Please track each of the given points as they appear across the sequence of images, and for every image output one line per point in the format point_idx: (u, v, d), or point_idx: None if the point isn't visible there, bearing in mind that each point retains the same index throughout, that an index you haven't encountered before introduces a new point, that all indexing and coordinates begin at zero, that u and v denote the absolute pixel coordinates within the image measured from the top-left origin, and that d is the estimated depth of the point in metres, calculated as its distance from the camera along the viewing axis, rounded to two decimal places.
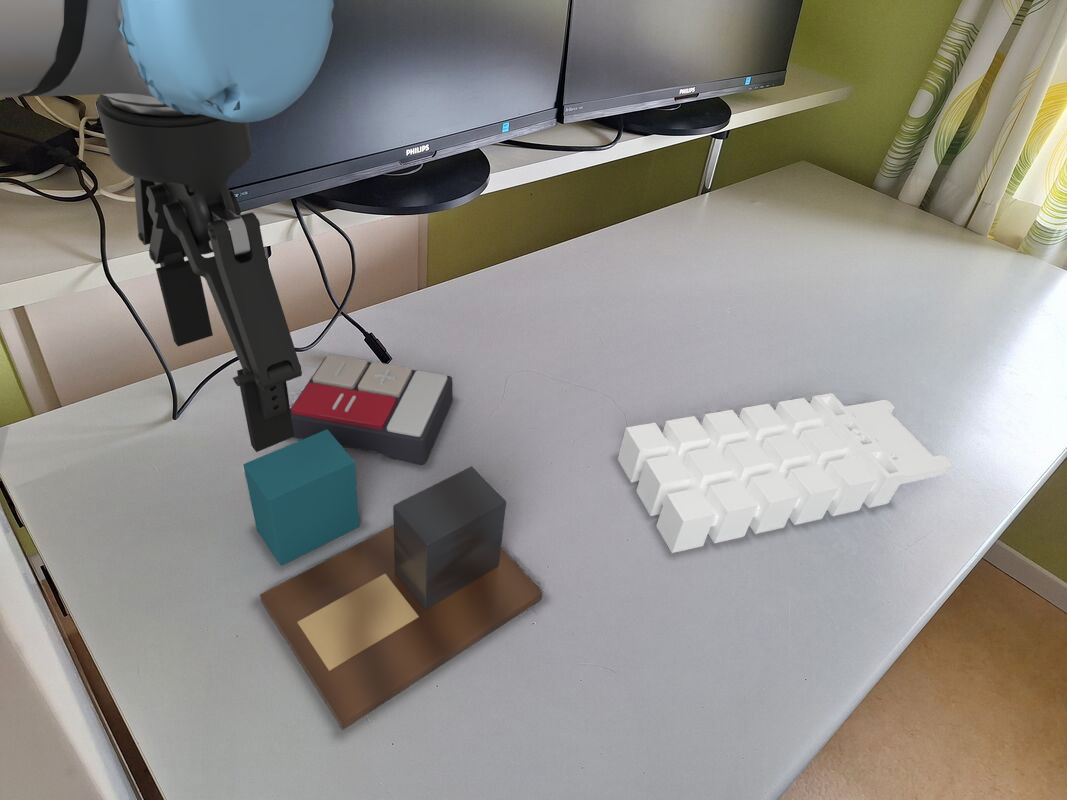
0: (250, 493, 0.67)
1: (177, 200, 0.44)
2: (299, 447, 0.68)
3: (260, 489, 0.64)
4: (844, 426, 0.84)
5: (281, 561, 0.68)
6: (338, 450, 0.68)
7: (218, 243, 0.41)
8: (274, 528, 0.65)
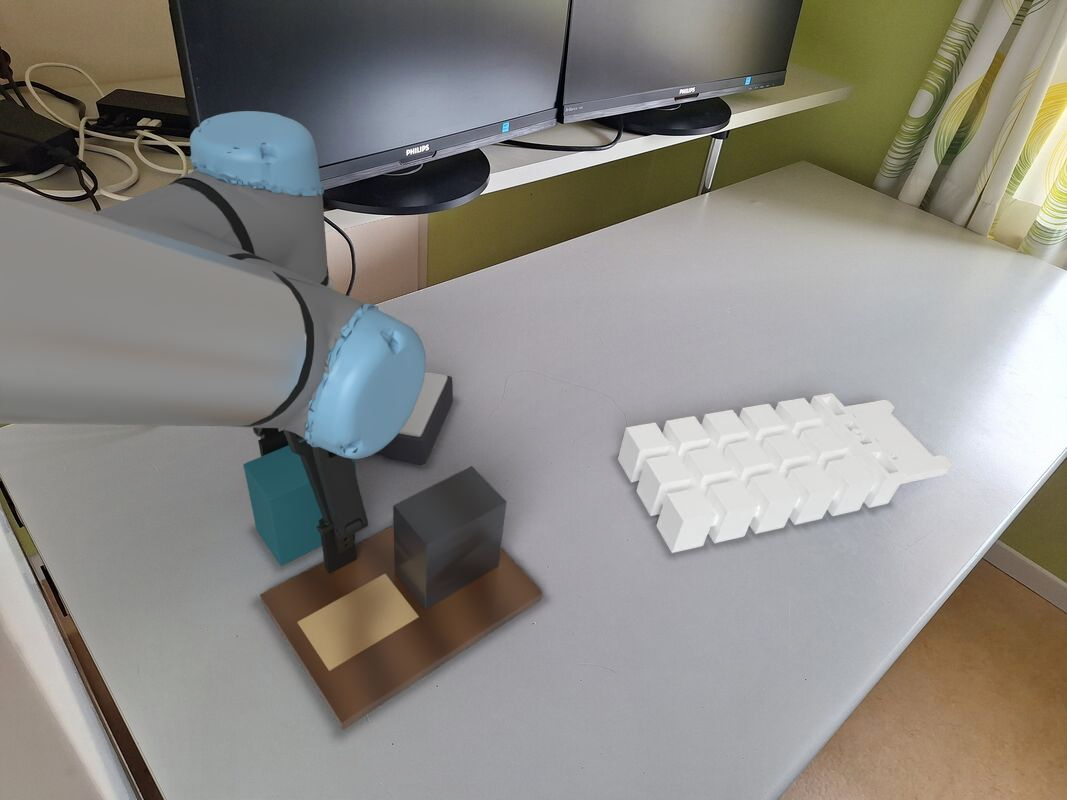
0: (250, 493, 0.67)
1: None
2: None
3: (260, 489, 0.64)
4: (844, 426, 0.84)
5: (281, 561, 0.68)
6: None
7: (319, 448, 0.56)
8: (274, 528, 0.65)
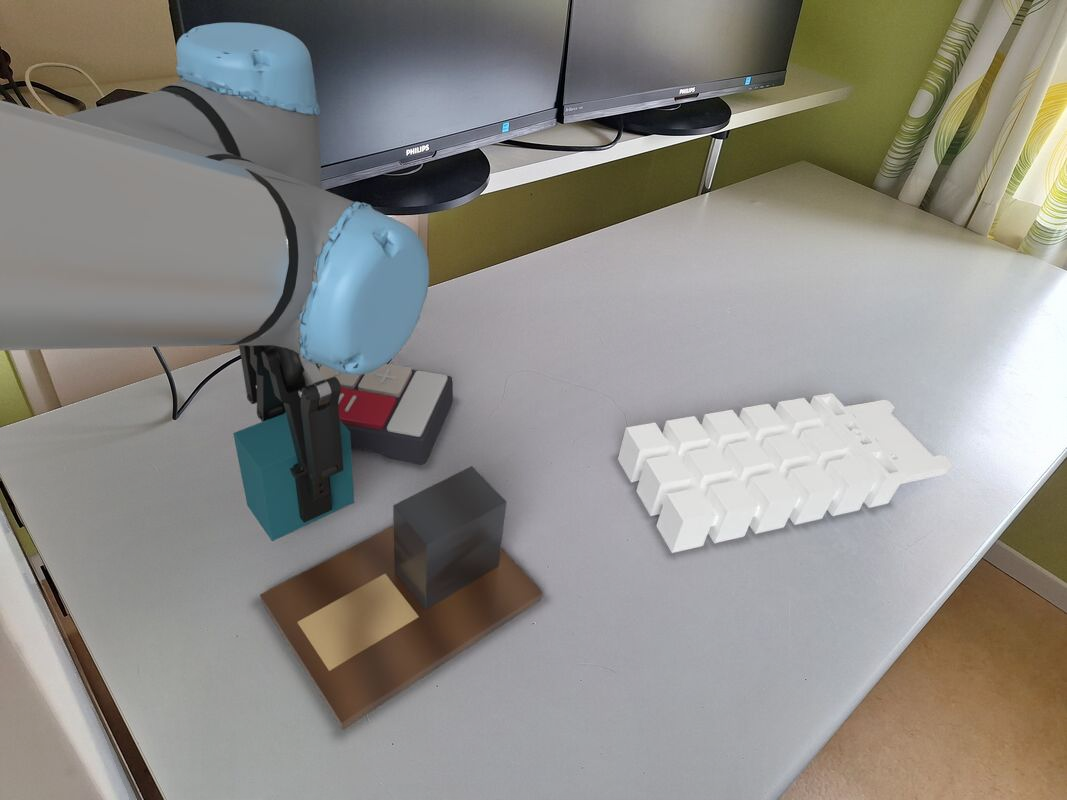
0: (240, 464, 0.64)
1: (273, 347, 0.56)
2: None
3: (251, 458, 0.61)
4: (844, 426, 0.84)
5: (272, 536, 0.65)
6: None
7: (309, 404, 0.54)
8: (265, 500, 0.62)
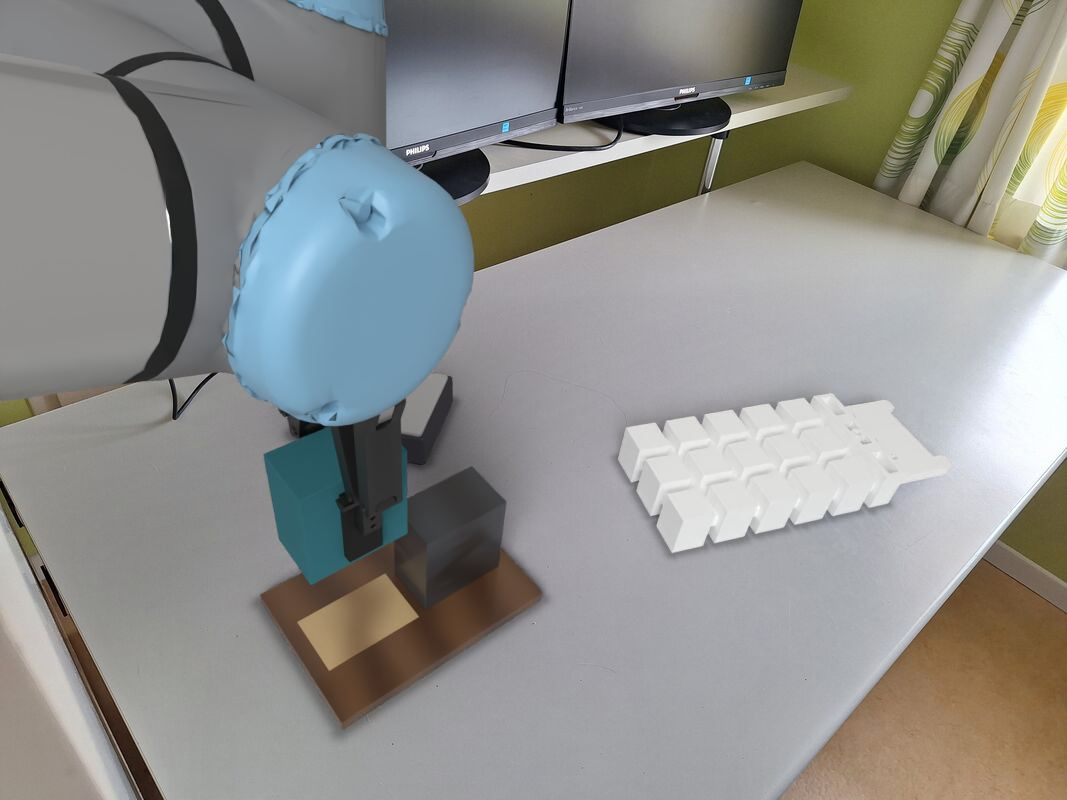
0: (272, 492, 0.52)
1: None
2: None
3: (286, 487, 0.48)
4: (844, 426, 0.84)
5: (311, 579, 0.53)
6: None
7: (367, 422, 0.41)
8: (304, 537, 0.50)
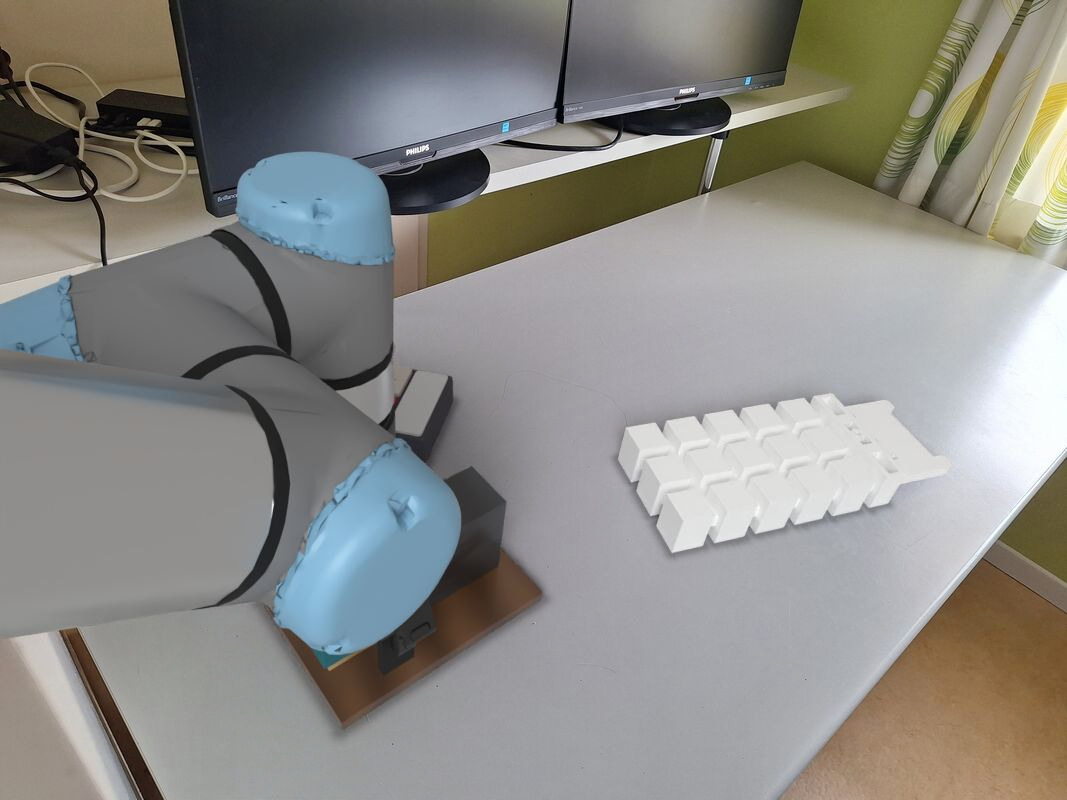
0: None
1: None
2: None
3: None
4: (844, 426, 0.84)
5: (325, 665, 0.60)
6: None
7: None
8: None
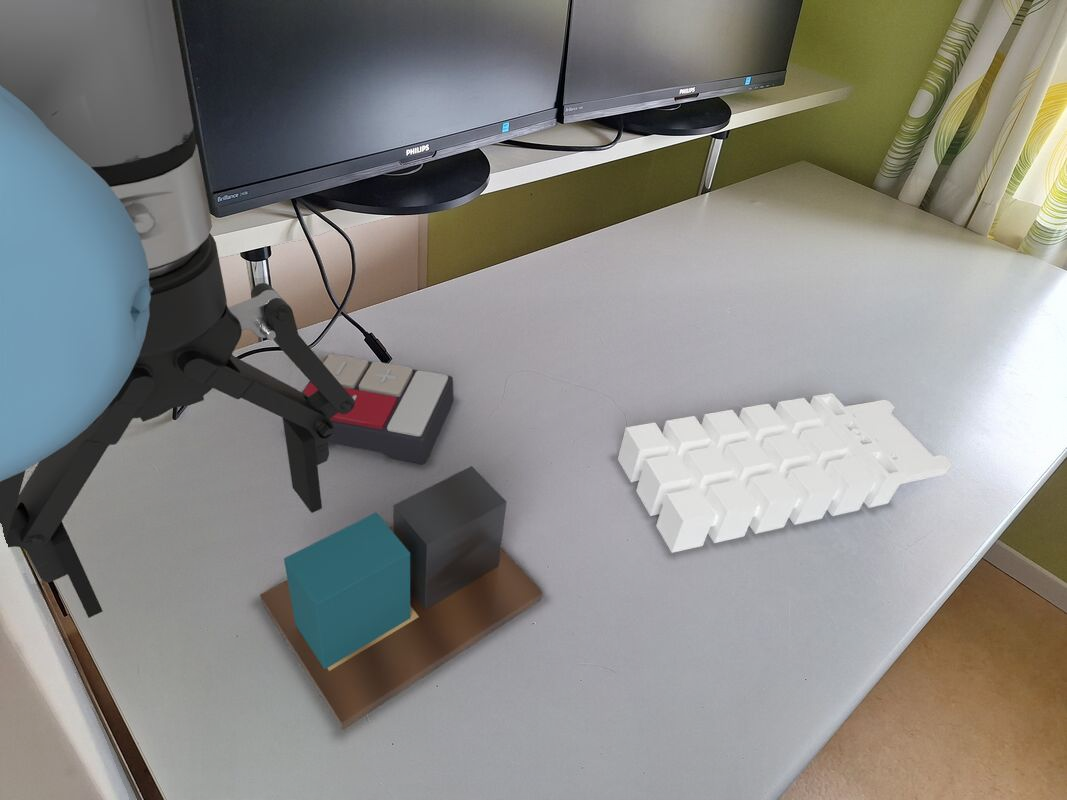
0: (290, 588, 0.59)
1: None
2: (346, 535, 0.59)
3: (304, 590, 0.55)
4: (844, 426, 0.84)
5: (325, 665, 0.60)
6: (390, 539, 0.59)
7: None
8: (319, 632, 0.57)
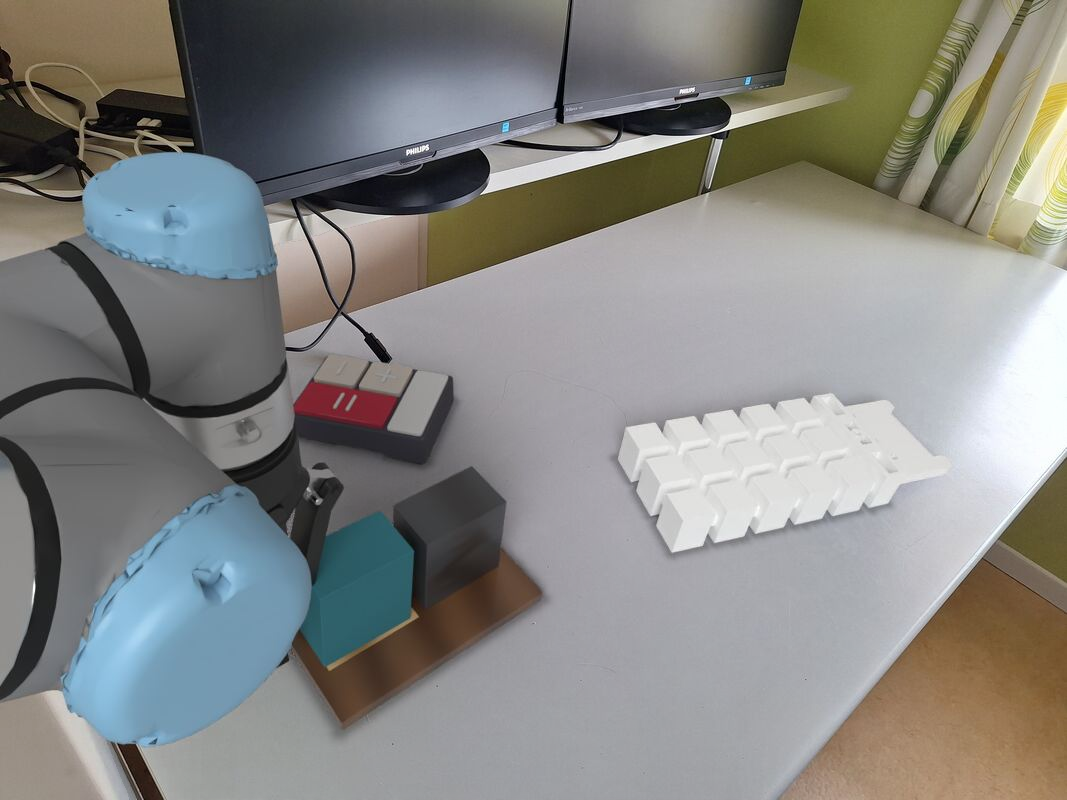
0: None
1: None
2: (350, 532, 0.59)
3: None
4: (844, 426, 0.84)
5: (325, 663, 0.60)
6: (394, 536, 0.60)
7: None
8: (321, 628, 0.57)
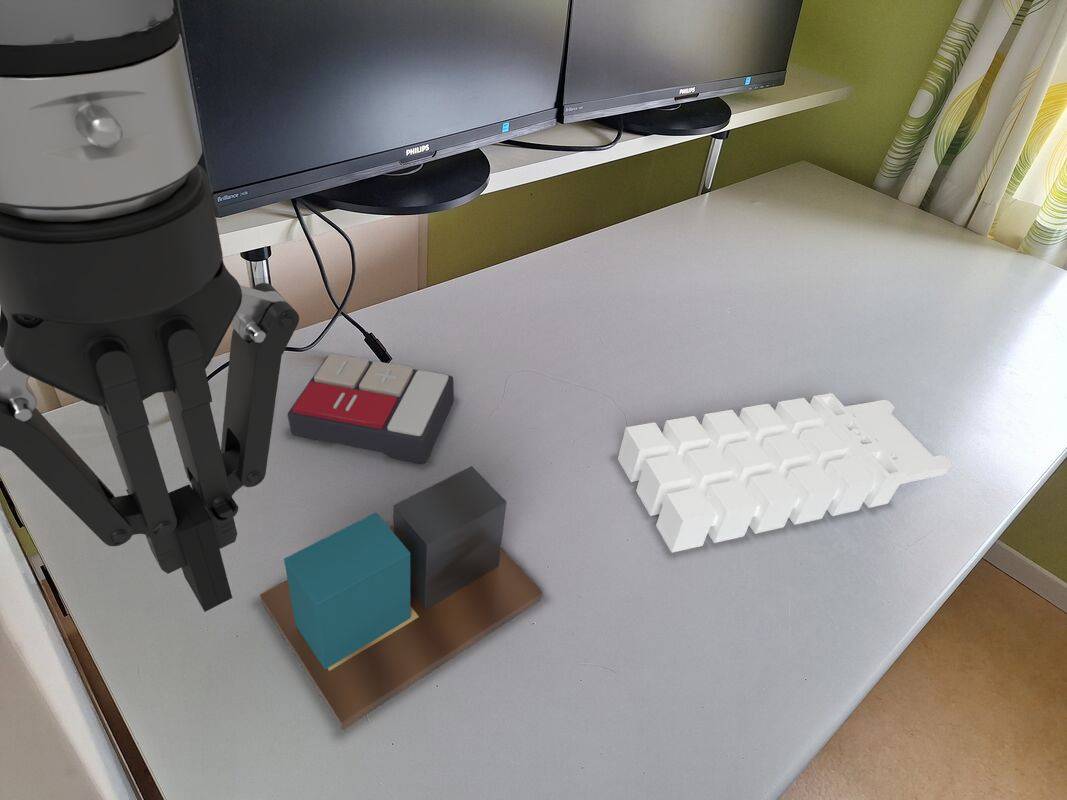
0: (290, 589, 0.59)
1: None
2: (346, 535, 0.59)
3: (305, 590, 0.55)
4: (844, 426, 0.84)
5: (325, 665, 0.60)
6: (390, 539, 0.59)
7: None
8: (319, 632, 0.57)
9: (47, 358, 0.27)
